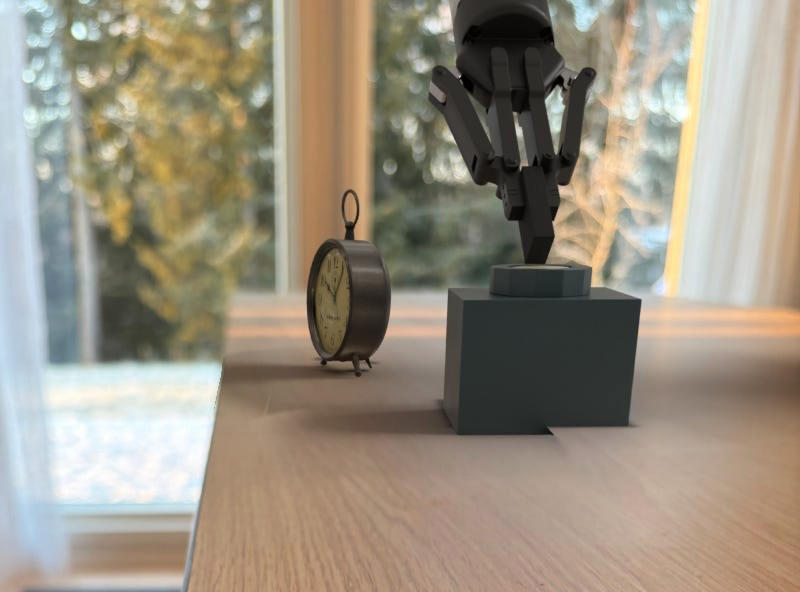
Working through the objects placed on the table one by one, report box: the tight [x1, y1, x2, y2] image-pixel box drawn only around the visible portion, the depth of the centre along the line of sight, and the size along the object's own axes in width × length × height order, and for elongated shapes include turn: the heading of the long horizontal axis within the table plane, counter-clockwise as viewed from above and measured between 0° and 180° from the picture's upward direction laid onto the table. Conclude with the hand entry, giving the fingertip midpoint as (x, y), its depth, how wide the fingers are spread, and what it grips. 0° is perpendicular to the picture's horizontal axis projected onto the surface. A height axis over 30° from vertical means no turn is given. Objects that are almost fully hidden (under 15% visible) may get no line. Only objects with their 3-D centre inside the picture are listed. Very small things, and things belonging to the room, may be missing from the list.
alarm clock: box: [306, 188, 392, 378], centre depth 99 cm, size 11×5×16 cm, turn 22°
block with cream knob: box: [442, 263, 643, 436], centre depth 77 cm, size 12×10×11 cm
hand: (539, 250), depth 75 cm, fingers closed
